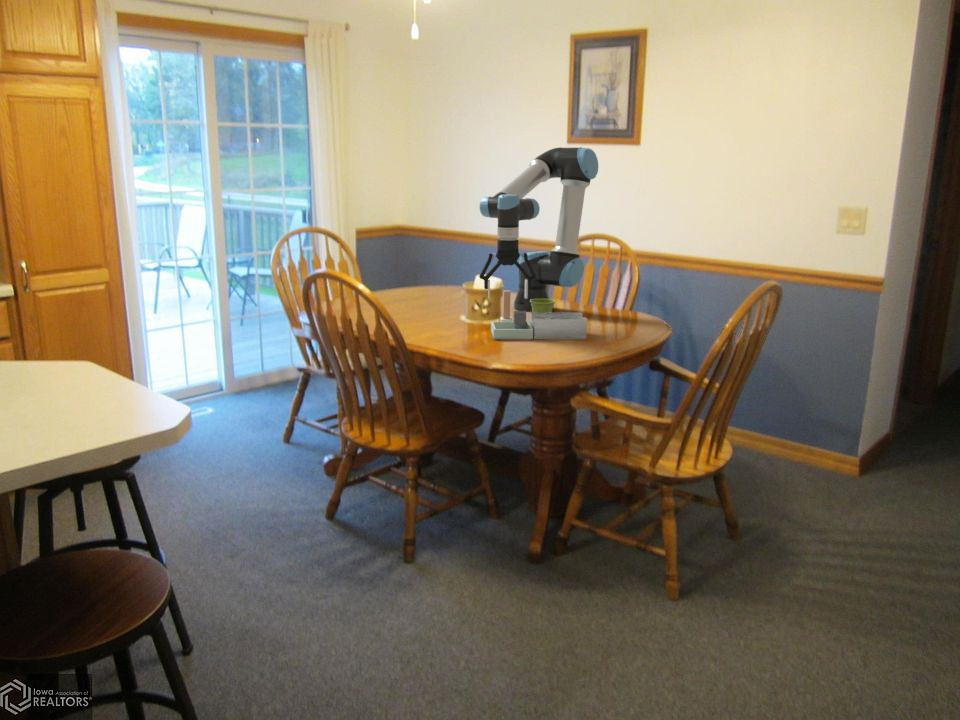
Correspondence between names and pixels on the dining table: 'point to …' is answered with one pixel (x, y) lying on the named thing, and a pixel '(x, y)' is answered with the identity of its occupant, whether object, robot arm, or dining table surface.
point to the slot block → (558, 325)
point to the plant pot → (542, 305)
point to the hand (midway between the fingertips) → (507, 298)
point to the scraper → (506, 307)
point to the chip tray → (510, 331)
